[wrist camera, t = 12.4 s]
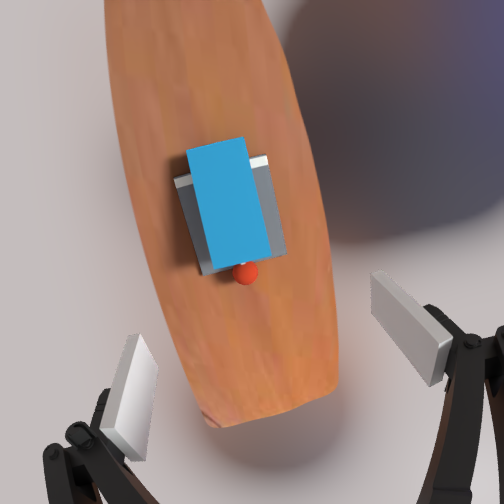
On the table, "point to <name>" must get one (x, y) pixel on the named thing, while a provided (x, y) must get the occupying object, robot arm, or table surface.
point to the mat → (266, 203)
